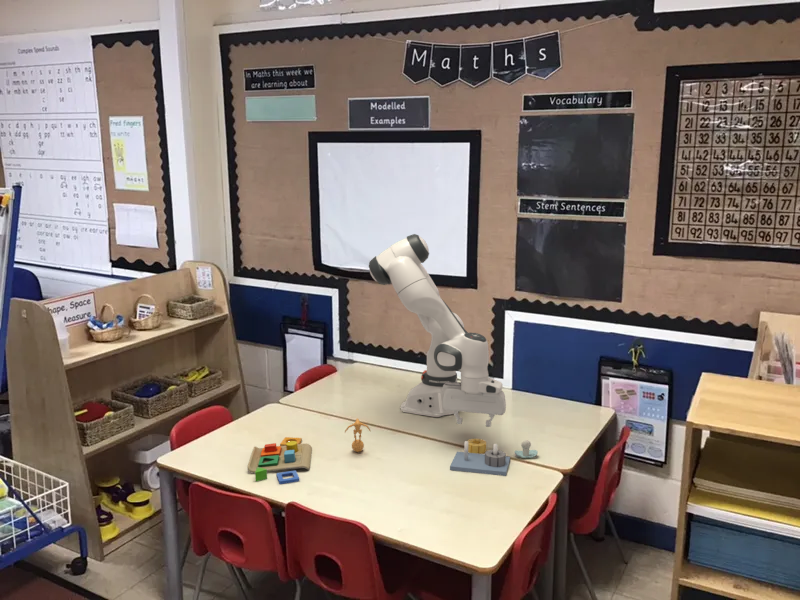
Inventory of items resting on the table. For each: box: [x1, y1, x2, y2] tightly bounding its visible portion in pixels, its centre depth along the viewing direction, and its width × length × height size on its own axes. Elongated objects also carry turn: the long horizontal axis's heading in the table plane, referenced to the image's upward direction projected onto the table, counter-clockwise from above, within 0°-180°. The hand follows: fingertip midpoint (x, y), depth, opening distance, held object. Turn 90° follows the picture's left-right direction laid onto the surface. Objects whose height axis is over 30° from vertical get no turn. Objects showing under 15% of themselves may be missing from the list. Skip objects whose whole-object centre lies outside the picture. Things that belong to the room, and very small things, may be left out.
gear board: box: [449, 440, 511, 477], centre depth 219 cm, size 17×12×7 cm
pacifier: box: [513, 439, 539, 459], centre depth 225 cm, size 7×6×6 cm
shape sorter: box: [246, 436, 313, 485], centre depth 223 cm, size 34×19×5 cm, turn 4°
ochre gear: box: [467, 438, 487, 454], centre depth 230 cm, size 6×6×3 cm
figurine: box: [344, 418, 371, 453], centre depth 228 cm, size 8×6×12 cm
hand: (473, 424), depth 229 cm, fingers open, 8 cm apart
